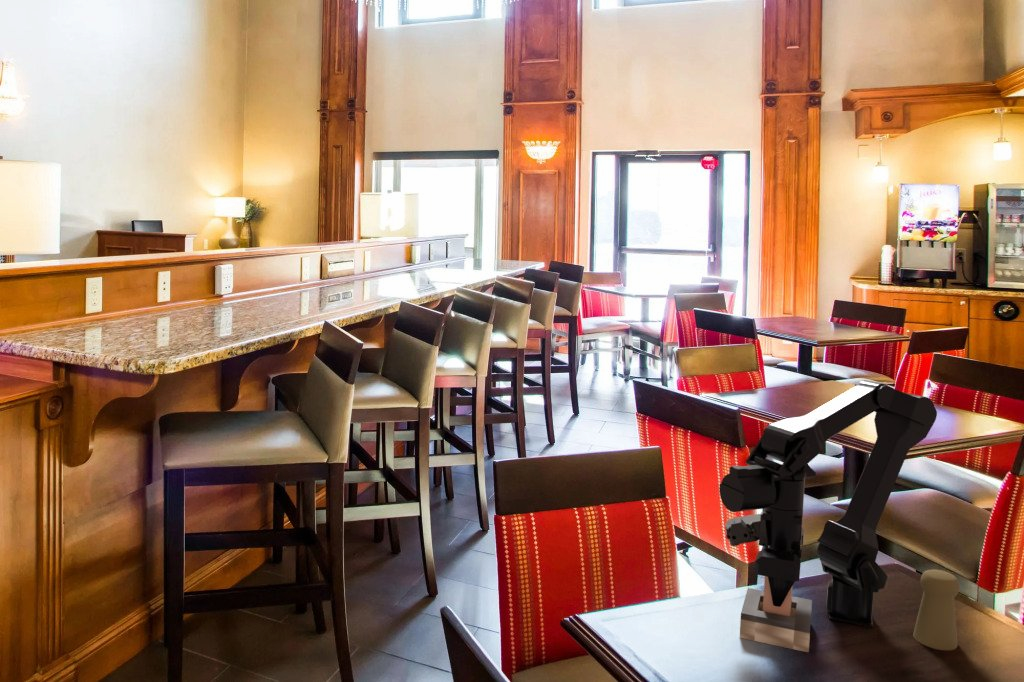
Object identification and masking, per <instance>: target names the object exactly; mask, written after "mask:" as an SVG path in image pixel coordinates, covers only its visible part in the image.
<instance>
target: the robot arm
mask: <svg viewBox="0 0 1024 682" xmlns="http://www.w3.org/2000/svg"><path fill="white" fill-rule="evenodd" d="M937 411H938V410H937V408H936V407H935V404H934V402H933V400H932V399H931V398H929V397H927V396H922V395H918V394H913V393H907V392H903V391H901V390H898V389H895V388H893V387H891V386H890V385H888V384H886V383H883V382H877V381H872V380H867V379H866V380H861V381H858V382H856V383H855V384H854V387H851V388H850V389H849V390H846V391H844V393H841V394H840V395H838V396H836V397H834V398H833V399H832V400H830V401H828V402H826V403H824V404H822V405H821V406H819V407H818V408H816V409H814V410H812V411H810V412H809V413H807V414H804V415H801V416H795V417H788V418H784V419H781V420H779V421H775V422H772V423H770V424H769V425H767V426H766V427H765V428H764V429H763V431H762V436H761V437H760V438H759V440H758V441H757V442H756V444H755V446H754V447H753V449H752V451H751V452H750V453H749V455H748V457H747V458H746V460H745V464H746V465H743V466H742V465H730V466H729V473H727V474H726V475H724V476H723V478H722V480H721V482H720V483H719V496H720V499H721V503H722V504H723V506H724V507H725V508H726V509H727V510H728V511H729V512H731V513H737V512H745V511H755V510H756V511H757V510H762V511H761V512H760V513H758V514H757V513H756V514H749V515H743V516H737V517H732V518H729V519H727V521H726V523H725V525H724V529H725V531H726V535H725V538H726V539H727V540H728V541H729V544H730V546H731V547H738V546H740V545H742V544H746V543H747V544H748V543H754V542H758V546H759V547H760V546H762V548H761V550H760V551H759V552H757V554H756V556H755V561H754V562H755V563H754V574H756V575H757V576H761V577H765V576H767V577H768V580H769V585H770V591H771V596H772V601H773V605H774V606H778V607H781V605H782V603H783V601H784V600H785V598H786V596H787V594H788V593H789V591H790V589H791V587H792V588H793V585H794V584H795V582H800V575H801V567H802V566H801V563H802V561H801V559H802V555H803V554H802V553H803V550H802V549H801V547H802V546H804V542H805V541H804V540H805V539H804V538H805V529H804V528H803V517H804V501H805V500H804V499H805V483H806V479H807V478H814V477H816V476H818V475H817V472H816V471H815V470H814V469H813V468H811V467H810V465H809V463H810V462H811V461H813V460H814V459H815V458H816V457H817V456H818V455H819V454H820V453H822V451H823V448H824V445H825V443H826V442H827V441H828V440H829V439H830V438H831V439H832V438H833V437H835V435H838V434H839V433H841V432H842V431H844V430H845V429H848V428H849V427H851V426H852V425H854V424H856V423H858V422H859V421H861V420H862V419H864V418H866V417H867V416H869V415H871V414H873V413H875V414H874V415H875V416H874V419H873V420H874V426H875V431H876V432H875V433H876V440H875V443H874V445H873V447H872V449H871V452H870V454H869V457H868V459H867V461H866V463H865V465H864V468H863V471H862V473H861V475H860V478H859V480H858V483H857V485H856V487H855V489H854V491H853V494H852V496H851V500H850V502H849V504H848V506H847V508H846V510H845V513H844V514H843V516H842V517H840V518H839V519H838V520H836V521H832V520H831V519H830V520H829V519H828V520H826V522H825V523H824V526H823V530H822V533H821V535H820V536H819V538H818V539H817V542H818V546H817V550H816V553H817V555H818V557H819V561H820V563H821V567H822V571H823V572H824V573H826V574H829V575H830V576H831V580H829V581H828V582H827V592H826V607H825V609H826V611H828V618H829V619H830V620H834V621H839V622H844V623H850V624H853V625H854V624H855V625H860V626H864V627H869V628H871V627H873V626H874V622H873V608H874V593H879V591H880V590H882V589H884V588H885V585H886V583H887V581H888V575H887V574H886V572H885V571H884V570H883V569H882V567H881V566H880V565H879V564H878V563H877V561H876V560H877V557H878V553H879V549H880V547H879V541H878V538H877V537H878V536H877V531H876V530H877V527H878V524H879V522H880V519H881V517H882V515H883V512H884V510H885V508H886V505H887V503H888V501H889V498H890V496H891V493H892V491H893V488H894V486H895V485H896V482H897V479H898V477H899V475H900V472H901V469H902V466H903V465H904V462H905V460H906V457H907V455H908V453H909V451H910V450H911V449H912V448H913V447H915V446H917V445H918V444H920V442H922V441H923V440H924V439H926V438H927V436H928V434H929V433H930V431H931V429H932V427H933V425H934V424H935V422H936V419H937V415H938V412H937ZM768 458H770V459H768ZM772 459H773V460H775V461H773V460H772ZM776 461H778V462H776ZM779 462H781V463H782V464H781V463H779Z"/></svg>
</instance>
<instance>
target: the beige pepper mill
mask: <svg viewBox="0 0 1024 682" xmlns="http://www.w3.org/2000/svg"><path fill="white" fill-rule="evenodd" d="M920 586H921V588H922V590H923V594H922V596H921V597H922V598H921V601H920V605H919V609H918V614H917V617H916V621H915V625H914V630H913V634H912V635H913V636H912V637H913V638H914V640H916V641H917V643H919V644H921V645H924V646H926V647H928V648H931V649H933V650H938V651H939V650H940V651H954V650H956V649H957V647H958V646H959V645H958V635H957V634H958V633H957V620H956V617H957V616H956V605H955V604H956V603H955V597H956V596H957V595H958V593H959V591H960V582H959V580H958V579H957V577H956V576H955V575H954V574H952V573H950V572H948V571H946V570H945V571H944V570H940V569H927V570H925V571H924V572H922V574H921V577H920Z"/></svg>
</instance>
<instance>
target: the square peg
mask: <svg viewBox="0 0 1024 682" xmlns="http://www.w3.org/2000/svg"><path fill="white" fill-rule="evenodd" d="M763 585H764V587H763V591H764V599H763V611H764V612H769V613H774V614H779V615H784V616H789V617H791V602H792V596H793V586H792V587H791V589H790V591H789V593H788V594H787V596H786V598H785V600H784V601H783V603H782V605H781V607H778V606H774V605H773V601H772V596H771V591H770V585H769V580H768V577H767V576H764V583H763Z"/></svg>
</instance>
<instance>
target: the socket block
mask: <svg viewBox="0 0 1024 682" xmlns="http://www.w3.org/2000/svg"><path fill="white" fill-rule="evenodd" d="M763 599H764V590H762V589H761V590H760V589H756V588H750V587H747V590H746V594H745V596H744V601H743V604H742V608H741V611H740V622H739V623H740V625H739V638H740V639H745V640H748V641H749V640H750V641H753V642H754V641H755V642H759V643H762V644H767V645H772V646H776V647H781V648H787V649H791V650H795V651H799V652H804V653H805V652H806V653H809V651H810V641H811V639H810V638H811V637H810V636H811V625H812V624H811V621H812V609H813V606H812V605H813V600H812V599H809V598H802V597H799V596H793V595H792V602H791V617H789V616H784V615H779V614H774V613H769V612H764V611H763Z"/></svg>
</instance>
